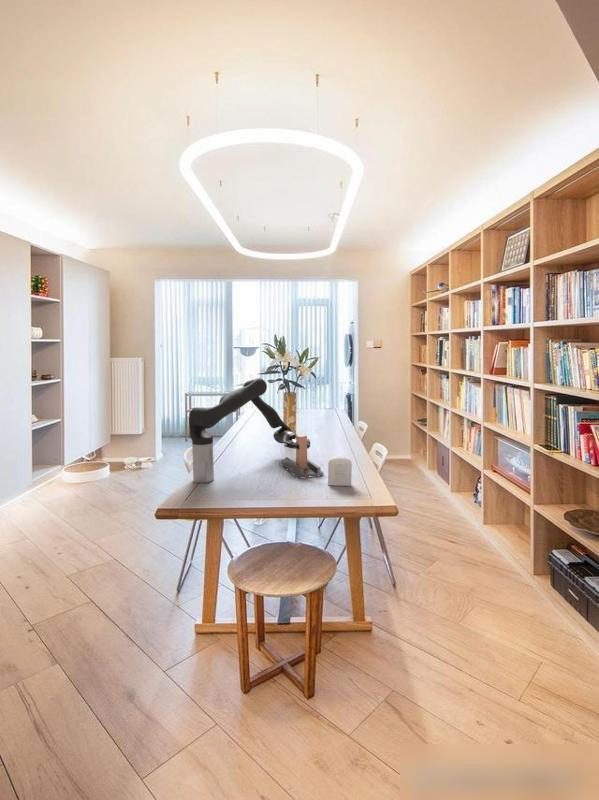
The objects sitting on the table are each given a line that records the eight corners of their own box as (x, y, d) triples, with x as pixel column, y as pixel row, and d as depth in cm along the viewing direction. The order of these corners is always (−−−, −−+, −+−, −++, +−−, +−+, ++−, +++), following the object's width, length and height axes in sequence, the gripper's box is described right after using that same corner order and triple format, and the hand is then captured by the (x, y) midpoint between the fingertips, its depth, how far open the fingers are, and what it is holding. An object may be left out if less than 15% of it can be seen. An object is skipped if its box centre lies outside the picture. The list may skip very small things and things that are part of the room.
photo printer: (351, 483, 184) (351, 456, 183) (351, 486, 180) (351, 458, 178) (328, 483, 185) (328, 455, 184) (327, 486, 181) (327, 458, 179)
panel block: (299, 469, 202) (299, 436, 200) (296, 466, 207) (295, 434, 205) (307, 468, 203) (307, 436, 201) (303, 465, 208) (303, 434, 206)
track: (323, 475, 196) (323, 467, 196) (297, 478, 192) (297, 470, 191) (305, 463, 219) (305, 455, 218) (281, 465, 214) (281, 457, 214)
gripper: (279, 433, 214) (289, 440, 198) (305, 431, 219) (317, 438, 203) (279, 448, 215) (289, 455, 199) (305, 445, 220) (317, 453, 204)
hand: (303, 446), depth 201 cm, fingers open, 4 cm apart
